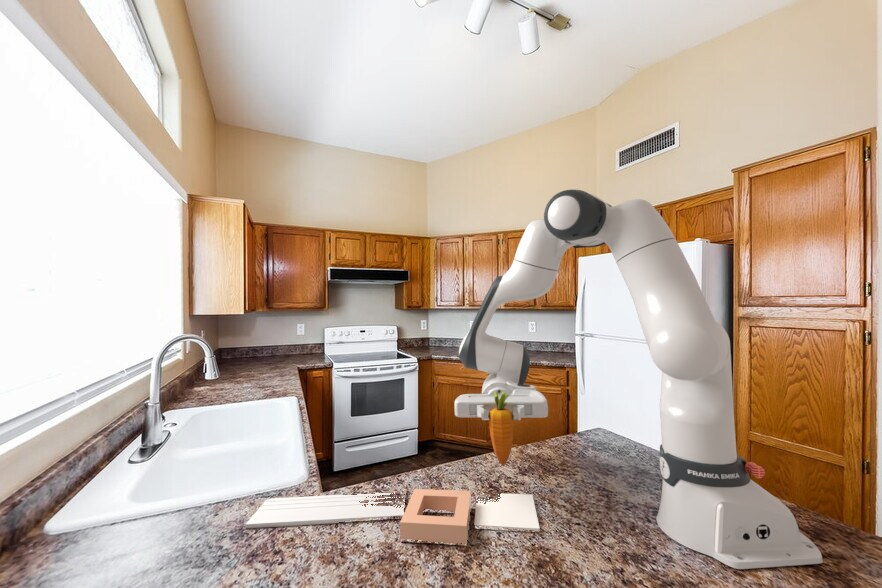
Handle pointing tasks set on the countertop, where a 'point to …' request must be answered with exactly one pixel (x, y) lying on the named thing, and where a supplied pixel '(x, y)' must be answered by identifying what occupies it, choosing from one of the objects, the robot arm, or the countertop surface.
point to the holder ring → (437, 526)
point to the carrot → (501, 428)
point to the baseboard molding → (320, 510)
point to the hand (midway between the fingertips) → (501, 416)
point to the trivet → (508, 512)
